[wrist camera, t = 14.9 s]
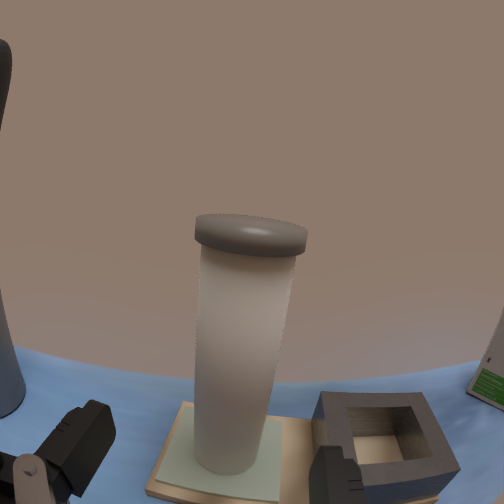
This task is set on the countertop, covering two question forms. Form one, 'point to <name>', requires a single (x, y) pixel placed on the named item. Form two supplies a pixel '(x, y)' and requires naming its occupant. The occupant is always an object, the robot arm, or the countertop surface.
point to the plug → (239, 332)
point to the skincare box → (491, 371)
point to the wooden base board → (306, 447)
